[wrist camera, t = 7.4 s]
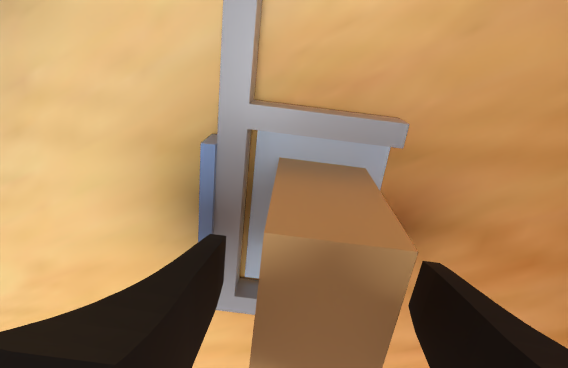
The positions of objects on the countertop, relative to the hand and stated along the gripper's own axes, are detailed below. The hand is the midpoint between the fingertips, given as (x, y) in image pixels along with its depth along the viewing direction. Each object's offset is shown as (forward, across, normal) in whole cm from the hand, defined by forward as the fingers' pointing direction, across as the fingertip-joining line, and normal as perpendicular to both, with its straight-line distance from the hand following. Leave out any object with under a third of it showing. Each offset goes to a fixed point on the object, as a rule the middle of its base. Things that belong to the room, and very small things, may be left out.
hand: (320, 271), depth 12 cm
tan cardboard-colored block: (+4, 0, 0) cm, 4 cm away
